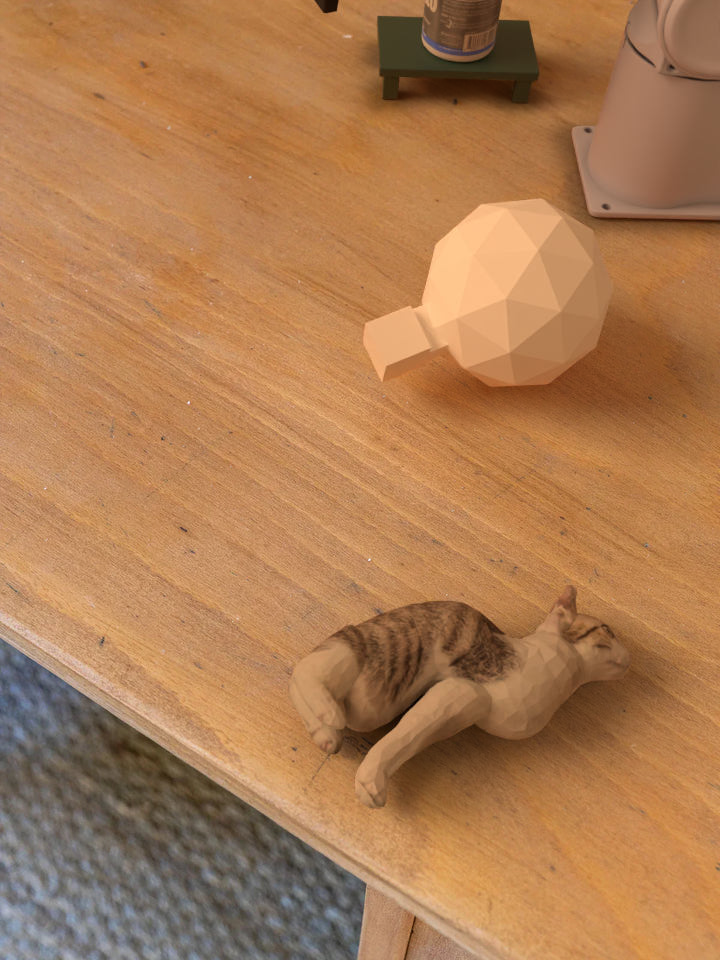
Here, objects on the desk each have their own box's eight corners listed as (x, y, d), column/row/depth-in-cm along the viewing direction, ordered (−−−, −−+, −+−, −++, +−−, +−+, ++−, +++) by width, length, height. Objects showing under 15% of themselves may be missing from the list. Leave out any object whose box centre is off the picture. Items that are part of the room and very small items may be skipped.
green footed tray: (522, 52, 63) (529, 20, 61) (532, 105, 60) (540, 73, 58) (375, 48, 63) (377, 15, 61) (377, 101, 60) (379, 68, 58)
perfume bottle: (536, 233, 51) (334, 312, 49) (585, 132, 42) (340, 224, 40) (609, 372, 49) (403, 459, 47) (677, 298, 40) (426, 401, 38)
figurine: (582, 1084, 28) (874, 782, 34) (273, 659, 34) (567, 462, 39) (542, 1078, 32) (811, 807, 37) (270, 697, 37) (539, 512, 43)
